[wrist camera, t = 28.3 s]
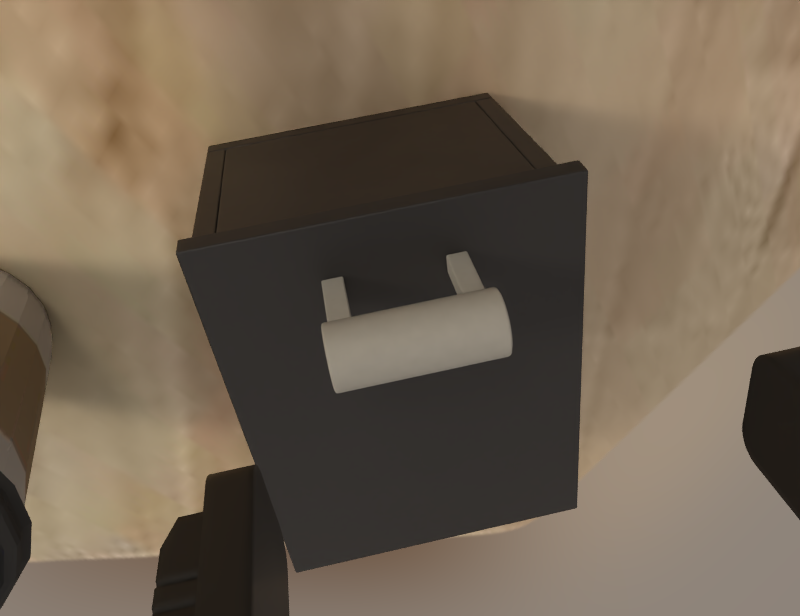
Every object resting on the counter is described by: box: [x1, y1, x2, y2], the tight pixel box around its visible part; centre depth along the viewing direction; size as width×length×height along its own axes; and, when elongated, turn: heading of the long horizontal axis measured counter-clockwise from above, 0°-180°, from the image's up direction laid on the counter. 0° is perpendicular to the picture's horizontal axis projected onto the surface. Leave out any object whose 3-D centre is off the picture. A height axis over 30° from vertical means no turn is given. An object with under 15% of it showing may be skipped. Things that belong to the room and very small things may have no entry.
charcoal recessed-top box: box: [192, 93, 557, 237], centre depth 32 cm, size 16×13×10 cm
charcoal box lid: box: [176, 161, 588, 572], centre depth 25 cm, size 16×13×5 cm
